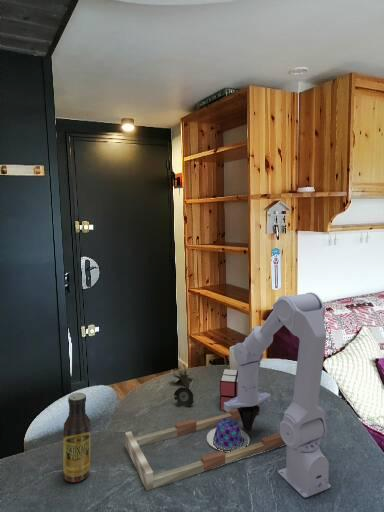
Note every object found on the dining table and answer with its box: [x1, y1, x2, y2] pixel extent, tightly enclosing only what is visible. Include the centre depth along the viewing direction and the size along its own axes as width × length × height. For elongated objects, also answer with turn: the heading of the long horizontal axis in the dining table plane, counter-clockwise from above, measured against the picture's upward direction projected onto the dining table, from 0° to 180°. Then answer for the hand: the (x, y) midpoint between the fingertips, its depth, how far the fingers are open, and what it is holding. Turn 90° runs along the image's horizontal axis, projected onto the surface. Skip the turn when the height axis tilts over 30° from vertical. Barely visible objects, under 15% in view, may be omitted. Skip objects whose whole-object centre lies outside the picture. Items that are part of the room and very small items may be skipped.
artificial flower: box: [170, 363, 194, 408], centre depth 134 cm, size 9×23×10 cm, turn 177°
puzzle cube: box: [219, 368, 238, 412], centre depth 124 cm, size 10×10×10 cm
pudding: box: [206, 418, 251, 452], centre depth 104 cm, size 12×12×5 cm
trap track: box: [124, 404, 286, 491], centre depth 102 cm, size 18×43×4 cm, turn 115°
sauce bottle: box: [62, 392, 91, 483], centre depth 89 cm, size 6×6×20 cm
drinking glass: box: [228, 345, 238, 371], centre depth 136 cm, size 7×7×15 cm
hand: (247, 429), depth 107 cm, fingers closed
